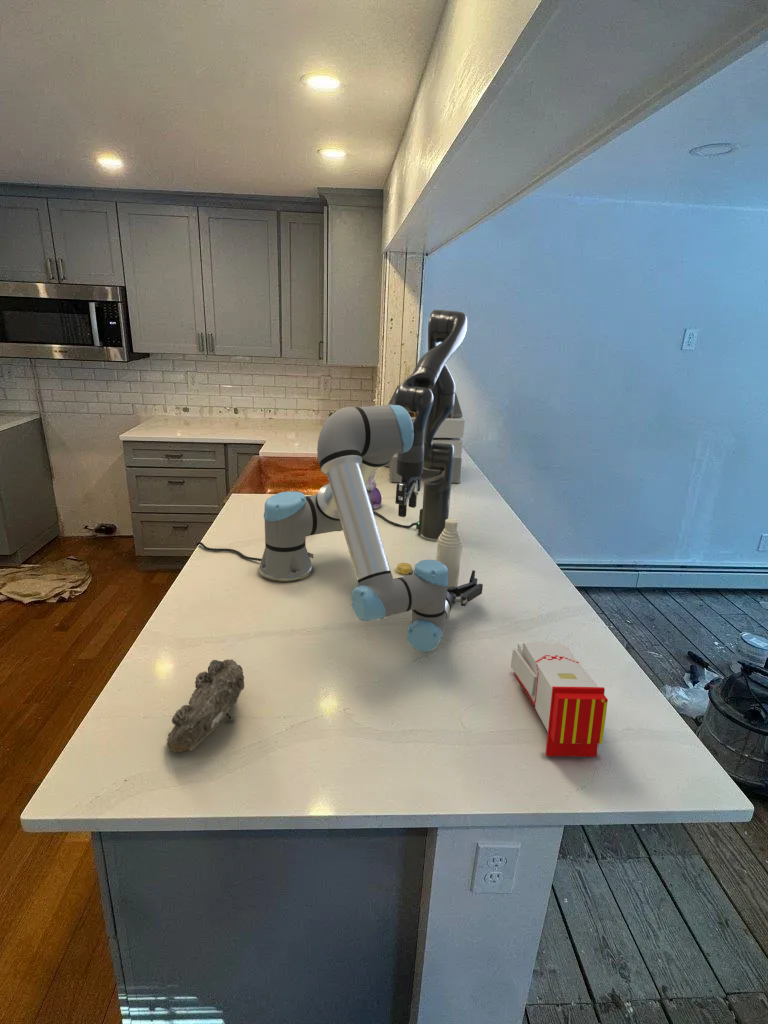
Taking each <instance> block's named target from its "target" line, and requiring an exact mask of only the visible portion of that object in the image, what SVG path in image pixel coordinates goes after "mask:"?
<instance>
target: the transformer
mask: <svg viewBox="0 0 768 1024" xmlns="http://www.w3.org/2000/svg"><path fill="white" fill-rule="evenodd" d="M400 385H401V384H398V385H397V386H396V388H395V390H394V392H393V394H392V395H391V398H390V400H389V402H388V404H390V405H395V403H394V396H395V393H396V390H397V389H398V387H399V386H400ZM388 404H387V405H388ZM408 413H409V415H410V417H411V420H413V419H416V417H417V413H414V412H408ZM464 429H465V419H464V418H463V411H462V408H461V405H460V402H459V398H458V395H457V392H455V402H454V407H453V409H452V411H451V412H450V414H449V415H448V417H447V418H446V419H445V420H444V421H443V423H442V424H441V425H440V427H439V428H438V430H437V432H436V433H435V435H434V438H433V440H432V442H433V443H445V444H452V445H453V446H454V449H455V456H454V464H453V470H452V479H451V484H455V483H456V484H459V483H461V472H462V461H463V460H462V453H463V442H464V441H463V440H462V439H463V438H464V431H465V430H464ZM384 467H388V468H389V475H388V476H389V477H388V478H389V480H390V482H391V483H400V482H401V480H402V477H401V476H400V475H398V474H397V472H396V470H397V454H395V455H394V456H393V457H392V459H391V460H390V461H389V463H388V464H386V465H385V466H384ZM439 473H440V474H442V473H443V471H439Z"/></svg>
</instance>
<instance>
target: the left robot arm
mask: <svg viewBox="0 0 768 1024" xmlns="http://www.w3.org/2000/svg"><path fill="white" fill-rule="evenodd" d="M413 440H414V429H413V423H412V420H411V417H410V415H409V413H408V412H407V410H406V409H405V408H404V407H402V406H399V405H390V404H381V405H368V406H367V405H365V406H346V407H343V408H339V409H338V410H336V411H334V412H333V413H332V414H330V416H328V417H327V419H326V420H325V422H324V423H323V425H322V427H321V429H320V432H319V435H318V440H317V448H316V452H317V460H318V465H319V467H320V472H321V473H322V474H324V475H326V477H327V480H328V483H326V484H324V485H323V486H321V487H320V488H319V489H318V491H317V493H316V494H312V495H305V494H304V493H303V492H301V491H297V490H295V491H294V490H293V491H290V490H289V491H282V492H277V493H275V494H273V495H271V496H270V497H268V498H267V499H266V501H265V502H264V510H263V511H264V512H263V519H264V520H263V521H264V543H265V545H264V546H265V547H264V551H263V554H262V556H261V558H258V557H253V556H247V555H246V554H245V555H244V553H242V552H240V551H238V550H236V549H233V548H213V547H208V546H207V545H205V544H204V543H203V542H202V541H198V542H196V543H195V546H199V545H200V547H202V548H203V549H205V550H208V551H212V552H232V553H236V554H237V555H238V556H240V557H241V558H243V559H245V560H249V561H257V562H259V575H260V576H261V577H263V578H264V579H265V580H269V581H272V582H277V583H290V582H296V581H300V580H303V579H305V578H307V577H309V576H310V575H311V574H312V571H313V564H312V560H311V558H312V559H314V553H311V552H309V551H308V549H307V546H306V545H307V543H306V540H307V537H310V536H314V535H321V534H327V533H328V534H329V533H332V532H343V535H344V538H345V542H346V545H347V549H348V553H349V557H350V559H351V563H352V566H353V570H354V573H355V576H356V580H357V584H358V586H357V587H354V588H353V589H352V592H351V596H350V599H351V608H352V611H353V613H354V615H355V616H356V617H357V619H359V621H361V622H371V621H372V622H373V621H376V620H383V619H385V618H389V617H392V616H395V615H399V614H402V613H406V612H411V617H410V618H411V619H410V623H409V624H408V627H407V632H406V638H407V639H406V640H407V641H408V643H409V645H410V646H411V647H412V648H413V649H415V650H416V651H419V652H425V653H427V652H431V651H433V650H435V649H436V648H437V647H438V646H439V644H440V642H441V641H442V639H443V634H444V630H445V627H446V624H447V622H448V619H449V617H450V613H451V611H452V608H453V604H455V603H459V604H460V606H461V607H466V606H467V604H468V603H469V602H471V601H472V600H474V599H475V598H477V597H479V596H480V595H482V594H483V586H484V584H482V583H478V578H477V577H476V570H471V574H470V577H469V581H468V582H467V583H464V584H461V585H458V586H457V587H455V586H452V587H449V588H447V587H448V569H447V567H446V566H445V565H444V564H442V563H441V562H439V561H436V559H435V560H434V559H422V560H420V561H418V562H416V564H415V565H414V568H413V572H411V573H408V574H407V575H403V576H400V577H395V578H394V576H393V574H392V570H391V567H390V563H389V561H388V557H387V554H386V550H385V547H384V544H383V541H382V537H381V533H380V530H379V527H378V524H377V520H376V517H375V514H374V513H373V511H374V509H372V506H371V503H370V500H369V496H368V493H367V490H366V486H365V485H366V484H367V482H368V481H369V479H370V478H371V477H372V475H373V474H374V472H375V473H376V471H377V470H378V469H379V468H382V467H386V466H385V465H386V464H388V463H389V461H390V460H391V459H392V457H393V456H394V455H395V454H397V453H401V454H402V453H404V452H407V451H409V450H410V449H411V447H412V445H413Z"/></svg>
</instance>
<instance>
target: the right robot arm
mask: <svg viewBox="0 0 768 1024" xmlns="http://www.w3.org/2000/svg"><path fill="white" fill-rule="evenodd" d="M467 330H468V318H467V315H466V314H465V313H464V312H462V311H458V310H447V309H433V310H432V311H431V312H430V315H429V317H428V323H427V352H425V353H424V354H422V356H421V357H420V359H419V360H418V362H417V364H416V366H415V367H414V370H413V372H412V373H411V374H410V375H409V376H408V377H407V378H406V379H404V380H403V381H402V382H401V383H400V384H399V385H400V386H399V387H398V389H397V390H396V389H395V390H396V393H395V396H394V403H395V405H399V406H402V407H404V408H405V409H406V410H407V412H414V413H417V417H416V419H413V420H412V423H413V429H414V440H413V445H412V447H411V449H410V450H409V451H407V452H404V453H402V454H401V453H397V470H396V472H397V474H398V475H400V476H401V477H402V480H401V482H396V488H395V489H396V490H395V501H394V502H395V504H396V505H398V511H397V516H398V517H399V518H406V517H407V510H408V509H407V508H408V507H409V508H413V509H415V508H417V501H418V500H417V499H418V495H419V492H420V491H421V482H422V481H421V479H422V476H423V473H424V470H426V471H427V470H428V471H435V472H436V471H437V472H440V471H443V473H442V474H441V473H440V474H438V475H436V476H433V477H429V478H427V479H425V480H424V482H423V493H422V496H423V497H422V506H421V508H420V509H419V516H418V521H416V522H412V523H411V524H409V525H404V524H400V523H397V522H394V521H391V520H389V519H388V518H386V517H385V516H384V515H382V514H381V513H379V512H377V511H375V510H373V513H374V515H376V516H378V517H379V518H381V519H382V520H383V521H385V522H386V523H387V524H390V525H393V526H395V527H399V528H405V529H411V528H412V527H414V526H415V530H417V535H418V536H420V538H421V539H424V540H426V541H432V542H437V540H438V537H439V536H440V534H441V533H442V531H443V530H444V528H445V520H446V519H449V517H450V516H449V514H450V504H451V494H452V493H451V491H452V483H451V479H452V470H453V464H454V456H455V449H454V446H453V445H452V444H445V443H433V442H432V440H433V438H434V435H435V433H436V432H437V430H438V428H439V427H440V425H441V424H442V423H443V421H444V420H445V419H446V418H447V417H448V415H449V414H450V412H451V411H452V409H453V407H454V402H455V393H456V389H457V388H456V382H455V380H454V378H453V375H452V373H451V371H450V369H449V367H448V366H447V363H448V361H450V359H451V357H452V356H453V355H454V354H455V352H456V351H457V350H458V349H459V347H460V345H461V344H462V343H463V342H464V338H465V337H466V334H467Z"/></svg>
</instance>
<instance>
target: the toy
mask: <svg viewBox="0 0 768 1024" xmlns="http://www.w3.org/2000/svg"><path fill="white" fill-rule="evenodd" d="M510 667H511V669H512V670H513V674H514V676H515V677H516V679H517V680H518V682H519V684H520V686H521V687H522V689H523V691H524V692H525V694H526V695H527V697H528V698H529V701H530V702H531V703H532V705H533V706H534V708H535V710H536V713H537V715H538V716H539V718H540V720H541V722H542V724H543V725H544V727H545V729H546V731H547V735H546V736H547V737H546V744H545V745H546V746H545V756H546V757H582V758H583V757H584V758H585V757H588V758H589V757H590V758H591V757H593V758H595V757H596V758H597V754H598V746H599V745H603V741H604V734H605V725H606V718H607V717H606V715H607V709H608V700H609V699H608V698H607V696H606V695H605V691H606V688H605V687H604V686H598V685H597V684H596V682H595V681H594V680H593V679H592V678H591V676H590V675H589V673H588V672H587V671H586V670H585V668H584V667H583V666H582V665H581V663H580V662H579V661H578V659H577V658H576V657H575V656H574V654H573V653H572V651H571V650H570V649H569V648H568V647H567V645H566V644H565V642H537V641H536V642H533V641H532V642H531V641H523V642H522V643H521V642H520V643H517V648H513V649H512V655H511V663H510Z"/></svg>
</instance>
